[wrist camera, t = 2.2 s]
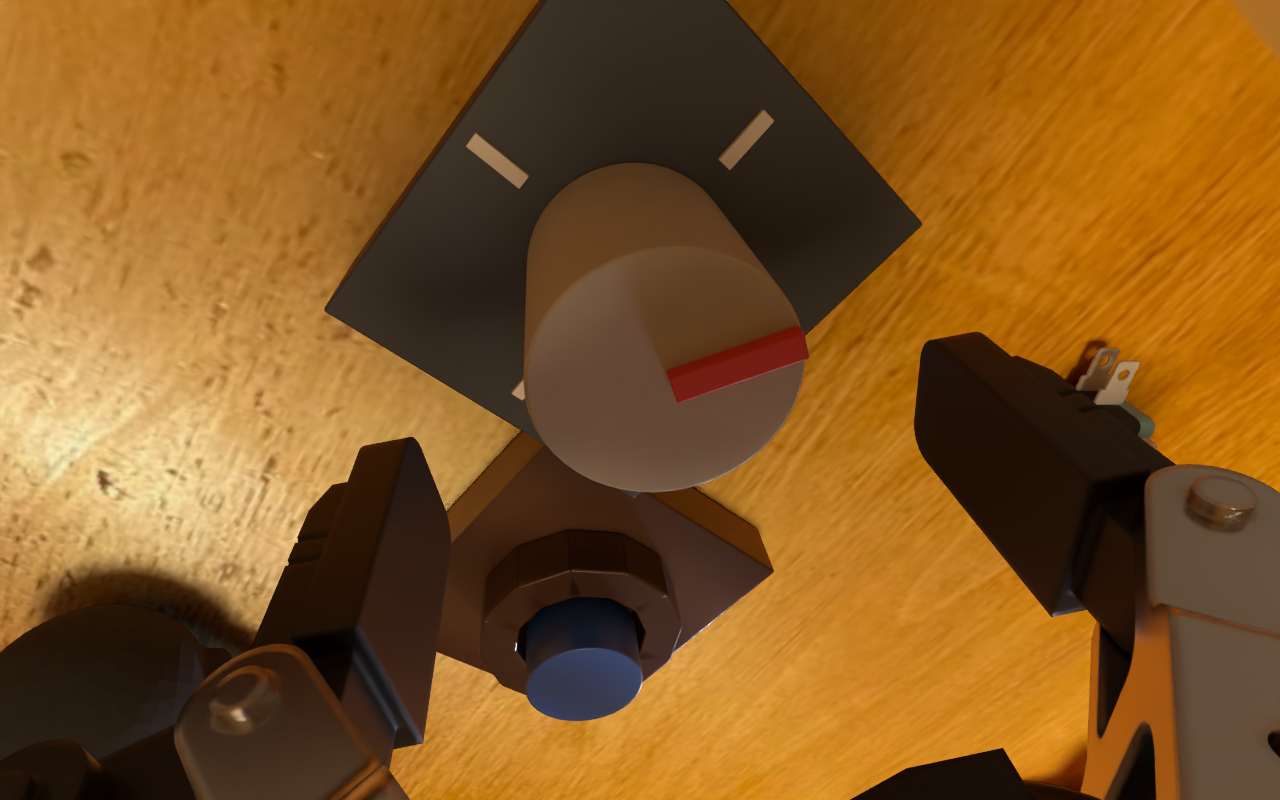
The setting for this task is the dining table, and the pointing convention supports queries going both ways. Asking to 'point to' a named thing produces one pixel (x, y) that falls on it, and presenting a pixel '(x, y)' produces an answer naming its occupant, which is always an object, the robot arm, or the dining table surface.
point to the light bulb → (99, 678)
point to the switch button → (582, 659)
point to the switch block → (585, 560)
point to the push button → (1115, 392)
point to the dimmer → (653, 333)
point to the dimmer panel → (601, 136)
